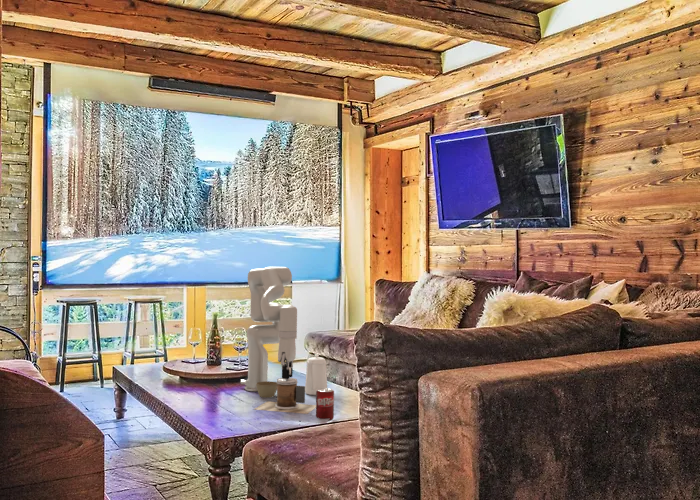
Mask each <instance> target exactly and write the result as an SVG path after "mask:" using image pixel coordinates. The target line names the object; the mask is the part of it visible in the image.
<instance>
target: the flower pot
mask: <svg viewBox="0 0 700 500" xmlns="http://www.w3.org/2000/svg"><path fill="white" fill-rule="evenodd" d="M256 386H257V390H258V391H257V393H258V395H259V398H265V399H267V398H273V397H275V395H276V394H277V381H268V380H267V381H265V382H258V383H256Z"/></svg>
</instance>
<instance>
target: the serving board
mask: <svg viewBox="0 0 700 500" xmlns="http://www.w3.org/2000/svg"><path fill="white" fill-rule="evenodd" d="M275 404H277V401H270V400H269V401H265V402H263V403H262V404H260V405H259V406H257V407H255V408H253V410H257V411H266V412H278V413H279V412H281V413H291V414H293V413H294V414H304V415H305V414H306V415H308V414H310V413H312V411H313V410H316V404H309V403H308V404H305V403H297V404H298V408H297V409H294V410H279V409H276V408H275Z"/></svg>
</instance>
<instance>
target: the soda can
mask: <svg viewBox="0 0 700 500" xmlns="http://www.w3.org/2000/svg"><path fill="white" fill-rule="evenodd" d="M315 405H316V408H315V418H317V419H321V420H327V419H328V420H327V422H331V421H333V420H334V418H335V417H334V415H335V414H334V413H335V391H334V389H333V388H328V387H327V388H322V389H318V390H317V391H316V395H315Z"/></svg>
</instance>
